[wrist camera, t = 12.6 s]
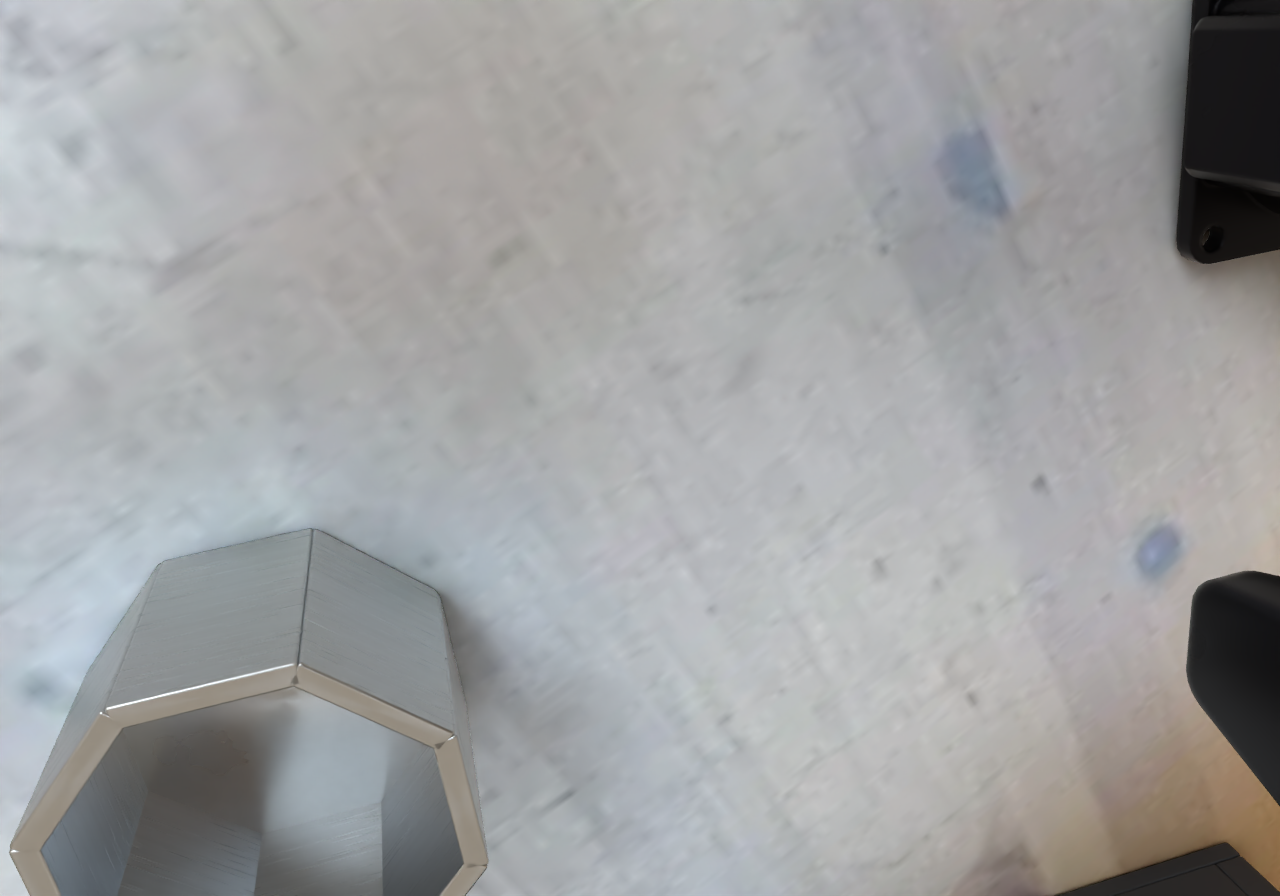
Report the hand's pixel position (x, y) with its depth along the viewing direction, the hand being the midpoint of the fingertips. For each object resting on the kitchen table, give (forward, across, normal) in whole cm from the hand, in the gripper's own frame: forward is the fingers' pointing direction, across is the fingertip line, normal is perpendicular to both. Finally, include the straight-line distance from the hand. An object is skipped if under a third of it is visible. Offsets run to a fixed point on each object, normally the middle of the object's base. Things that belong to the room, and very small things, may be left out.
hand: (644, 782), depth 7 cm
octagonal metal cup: (+12, +5, +6) cm, 14 cm away
